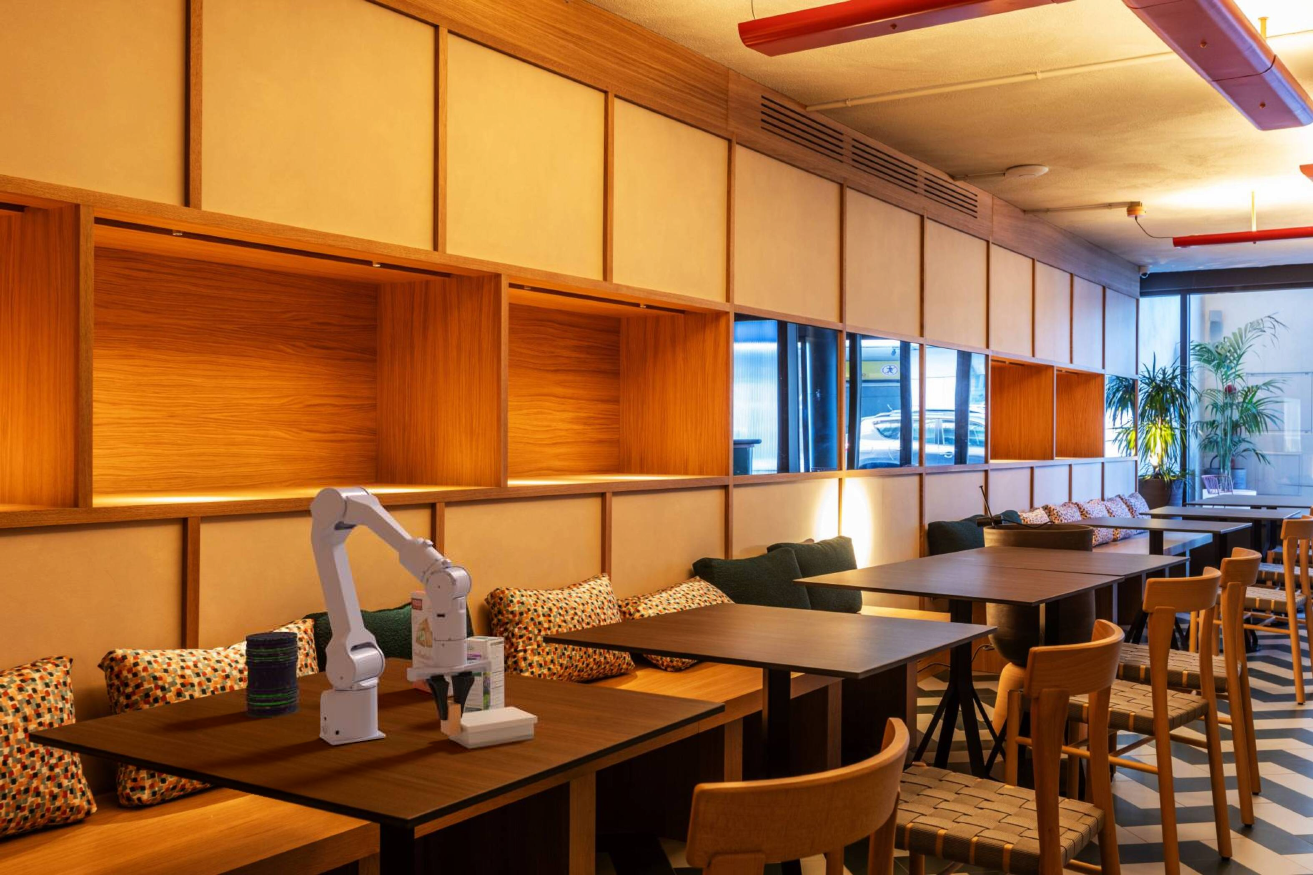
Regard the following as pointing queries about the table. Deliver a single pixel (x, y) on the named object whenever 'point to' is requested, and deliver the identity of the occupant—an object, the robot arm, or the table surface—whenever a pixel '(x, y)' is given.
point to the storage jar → (271, 674)
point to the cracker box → (423, 637)
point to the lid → (483, 719)
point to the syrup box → (486, 674)
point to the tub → (494, 736)
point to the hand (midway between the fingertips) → (450, 718)
